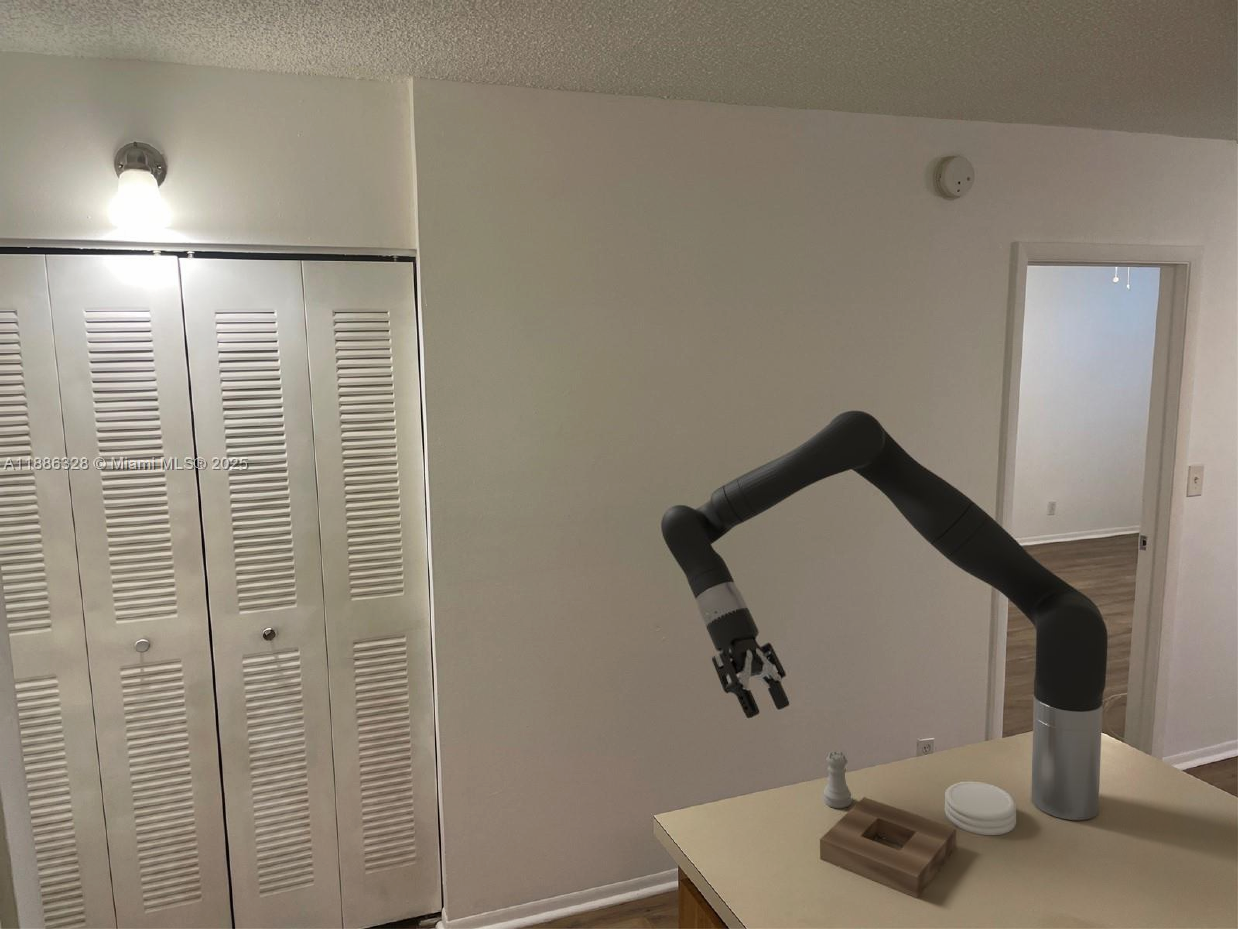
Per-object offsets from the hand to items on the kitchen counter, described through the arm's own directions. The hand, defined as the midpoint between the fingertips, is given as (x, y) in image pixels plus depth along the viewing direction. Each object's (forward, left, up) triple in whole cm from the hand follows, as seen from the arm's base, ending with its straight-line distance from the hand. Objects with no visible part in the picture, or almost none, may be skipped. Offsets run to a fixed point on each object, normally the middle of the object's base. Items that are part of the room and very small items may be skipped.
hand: (769, 711), depth 130 cm
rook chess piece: (-8, +7, -16) cm, 20 cm away
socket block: (0, +19, -16) cm, 25 cm away
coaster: (-17, +26, -17) cm, 35 cm away
